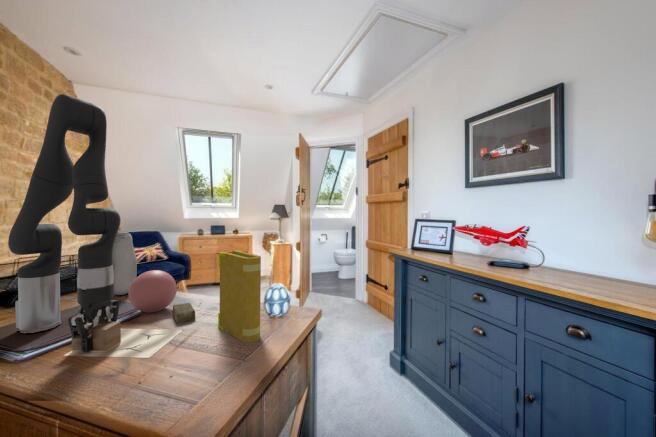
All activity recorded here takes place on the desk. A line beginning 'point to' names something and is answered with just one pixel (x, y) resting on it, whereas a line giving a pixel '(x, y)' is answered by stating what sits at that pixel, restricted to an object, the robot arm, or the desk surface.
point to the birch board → (135, 343)
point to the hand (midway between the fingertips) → (96, 345)
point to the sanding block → (102, 337)
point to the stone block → (183, 313)
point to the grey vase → (123, 263)
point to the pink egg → (152, 291)
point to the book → (240, 294)
